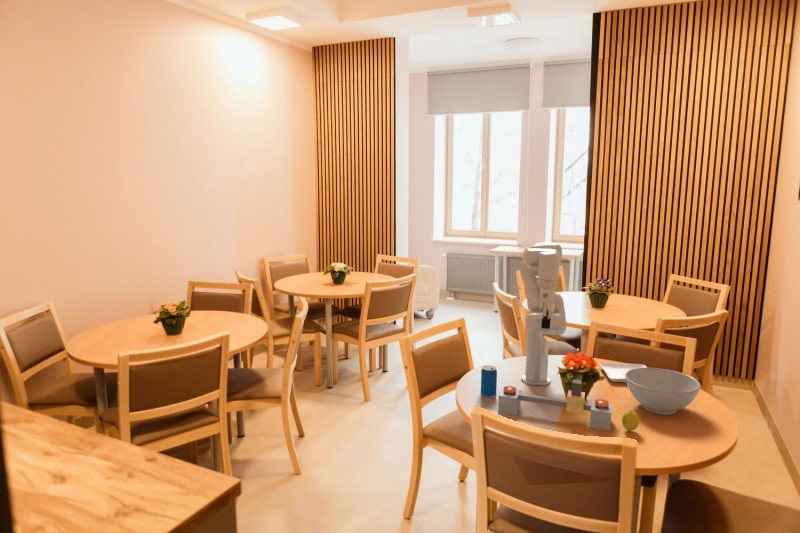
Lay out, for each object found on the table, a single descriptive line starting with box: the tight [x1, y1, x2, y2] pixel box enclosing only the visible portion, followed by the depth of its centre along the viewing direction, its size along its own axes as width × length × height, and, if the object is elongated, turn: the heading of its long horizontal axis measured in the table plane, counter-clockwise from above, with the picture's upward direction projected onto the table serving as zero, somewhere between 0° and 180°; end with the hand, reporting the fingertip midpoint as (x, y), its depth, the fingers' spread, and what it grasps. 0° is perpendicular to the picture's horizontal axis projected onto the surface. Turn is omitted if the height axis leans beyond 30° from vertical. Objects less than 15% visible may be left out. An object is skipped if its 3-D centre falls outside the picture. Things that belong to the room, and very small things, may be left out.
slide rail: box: [497, 386, 613, 432], centre depth 208 cm, size 9×41×7 cm, turn 67°
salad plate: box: [598, 362, 648, 383], centre depth 250 cm, size 21×21×3 cm
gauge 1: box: [503, 385, 517, 395], centre depth 214 cm, size 5×5×7 cm
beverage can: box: [480, 365, 498, 398], centre depth 228 cm, size 6×6×12 cm
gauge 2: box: [594, 398, 610, 409], centre depth 201 cm, size 5×5×7 cm
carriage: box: [565, 378, 586, 415], centre depth 204 cm, size 6×6×11 cm
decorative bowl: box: [625, 367, 701, 416], centre depth 215 cm, size 27×27×12 cm
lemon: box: [621, 409, 640, 432], centre depth 196 cm, size 6×6×8 cm
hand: (545, 327), depth 218 cm, fingers closed
